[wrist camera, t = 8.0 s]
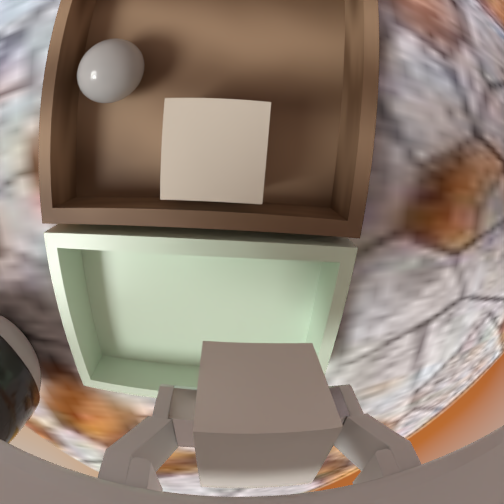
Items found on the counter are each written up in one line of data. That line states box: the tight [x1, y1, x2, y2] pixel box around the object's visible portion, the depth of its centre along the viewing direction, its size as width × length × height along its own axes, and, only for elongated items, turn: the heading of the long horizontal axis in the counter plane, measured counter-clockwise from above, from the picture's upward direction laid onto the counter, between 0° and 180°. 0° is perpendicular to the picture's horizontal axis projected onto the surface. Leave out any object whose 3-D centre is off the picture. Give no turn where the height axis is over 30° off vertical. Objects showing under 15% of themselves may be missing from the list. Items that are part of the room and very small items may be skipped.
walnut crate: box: [39, 0, 379, 238], centre depth 12 cm, size 15×16×4 cm
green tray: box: [44, 224, 358, 398], centre depth 17 cm, size 11×16×4 cm
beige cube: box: [160, 98, 271, 204], centre depth 12 cm, size 4×4×4 cm
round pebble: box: [77, 38, 145, 103], centre depth 11 cm, size 3×3×3 cm
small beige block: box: [193, 341, 343, 488], centre depth 9 cm, size 4×4×4 cm
